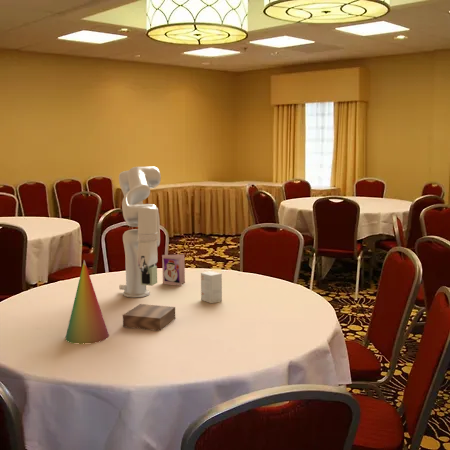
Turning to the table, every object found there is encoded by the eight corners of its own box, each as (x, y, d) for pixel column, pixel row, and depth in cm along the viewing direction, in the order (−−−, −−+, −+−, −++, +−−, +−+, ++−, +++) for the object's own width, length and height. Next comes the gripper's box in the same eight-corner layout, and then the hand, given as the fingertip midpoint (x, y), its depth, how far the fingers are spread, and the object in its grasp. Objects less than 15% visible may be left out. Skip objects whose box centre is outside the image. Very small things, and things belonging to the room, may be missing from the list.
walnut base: (123, 327, 232) (122, 314, 231) (140, 315, 247) (140, 303, 247) (160, 330, 228) (160, 318, 227) (175, 318, 243) (175, 307, 242)
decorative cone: (65, 346, 211) (61, 265, 207) (65, 331, 227) (61, 256, 222) (110, 341, 216) (107, 262, 211) (107, 328, 231) (104, 254, 227)
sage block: (140, 284, 233) (140, 267, 232) (146, 282, 238) (145, 265, 237) (152, 285, 232) (151, 268, 231) (157, 282, 237) (156, 265, 236)
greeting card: (161, 283, 300) (161, 255, 298) (169, 280, 307) (169, 252, 305) (180, 286, 295) (180, 257, 293) (188, 283, 302) (187, 254, 299)
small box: (222, 301, 268) (222, 273, 266) (211, 303, 264) (211, 275, 262) (211, 297, 275) (211, 270, 273) (200, 299, 271) (200, 272, 269)
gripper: (148, 233, 241) (149, 276, 244) (129, 240, 225) (131, 286, 228) (164, 234, 239) (165, 277, 242) (147, 241, 223) (148, 287, 226)
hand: (148, 281), depth 235 cm, fingers closed on sage block, 5 cm apart
